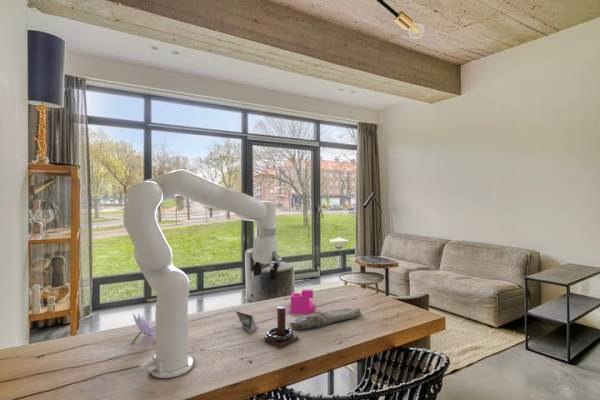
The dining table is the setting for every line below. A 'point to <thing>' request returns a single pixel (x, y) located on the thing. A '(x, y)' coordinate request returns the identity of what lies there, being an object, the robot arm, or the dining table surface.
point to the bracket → (302, 301)
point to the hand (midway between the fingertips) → (265, 277)
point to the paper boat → (247, 321)
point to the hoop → (282, 338)
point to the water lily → (144, 328)
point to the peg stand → (281, 330)
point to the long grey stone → (324, 318)
